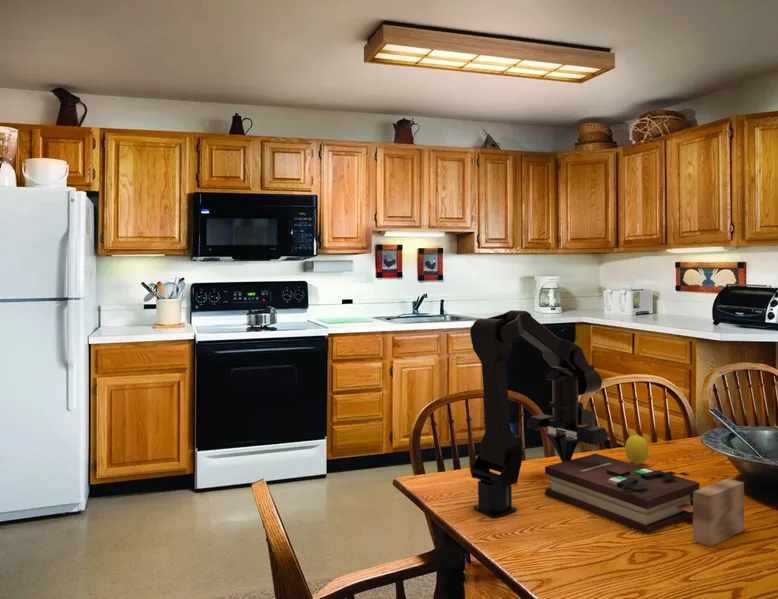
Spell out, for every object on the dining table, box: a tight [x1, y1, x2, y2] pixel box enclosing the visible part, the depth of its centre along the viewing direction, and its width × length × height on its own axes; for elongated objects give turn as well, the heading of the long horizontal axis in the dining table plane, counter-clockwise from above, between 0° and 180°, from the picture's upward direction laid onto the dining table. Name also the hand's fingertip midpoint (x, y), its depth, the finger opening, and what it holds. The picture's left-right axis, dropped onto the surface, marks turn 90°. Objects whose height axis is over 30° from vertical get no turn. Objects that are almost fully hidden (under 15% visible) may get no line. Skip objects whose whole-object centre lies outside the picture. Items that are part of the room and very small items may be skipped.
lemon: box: [624, 433, 650, 466], centre depth 153 cm, size 6×6×8 cm
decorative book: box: [544, 453, 700, 535], centre depth 127 cm, size 19×8×30 cm
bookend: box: [692, 477, 745, 548], centre depth 111 cm, size 12×3×9 cm, turn 124°
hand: (566, 465), depth 140 cm, fingers closed
